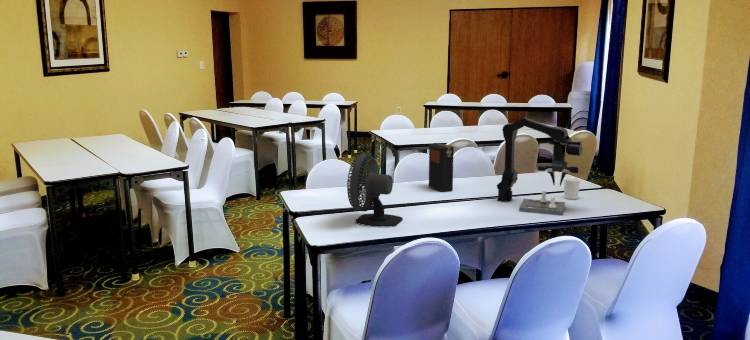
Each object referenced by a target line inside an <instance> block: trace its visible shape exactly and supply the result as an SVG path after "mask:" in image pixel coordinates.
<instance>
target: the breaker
mask: <svg viewBox="0 0 750 340" xmlns="http://www.w3.org/2000/svg"><path fill="white" fill-rule="evenodd" d="M550 201H551V204H549V208H556V205H555V201H556V196H551V197H550Z"/></svg>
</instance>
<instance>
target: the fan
mask: <svg viewBox="0 0 750 340" xmlns="http://www.w3.org/2000/svg"><path fill="white" fill-rule="evenodd" d="M379 168H380V167H379V165H378V162H377V160H376V159H375V158H374V157H373V156H372V155H370V154H359V155H358V156H356V157H355V158H354V159H353V160H352V162H351V164H350V166H349V169H348V170H349V171H348V174H347V181H346V182H347V184H346V185H347V186H346V187H347V198H348V202H349V204H350V206H351V207H352V208H353V209H354V210H355V211H357V212H367V211H369V210H370V209H372V208H373V213H364V214H361V215H360V216H359V217H358V218H356V219H355V220H354V222H355V221H356V222H357V223H356V222H355V223H356V224H358V223H360V224H359V225H361V224H364V225H363V226H367V225H370V226H369V227H375V226H392V227H396V226H398V225H399V224H400V223H401V222H402V221H403V220H404V219H403V217H402V216H399V215H394V214H388V213H385V205H384V204H383V203H382V201H381V199H380V196H381V195H386V196H387V195H390V194H391V193H392V191H393V188H394V187H393V185H394V181H393V176H391V175H390V174H384V173H383V174H381V173H380V169H379ZM398 223H399V224H398ZM397 224H398V225H397Z"/></svg>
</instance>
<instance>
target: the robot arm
mask: <svg viewBox="0 0 750 340" xmlns="http://www.w3.org/2000/svg"><path fill="white" fill-rule="evenodd" d="M524 127H526V128H528V129H531V130H534V131H537V132H539V133H543V134H545V135H547V136H548V137H550V138H551V139H552V140H551V141H550V142H549V145H551V146H552V145H553V146H552V147H553V150H552V161H551V165H548V163H544V162H543V163H538V166H537V171H539V172H545V171H546V170H547V172H546V173H547V174H549V175H550V178H551V181H552V184H553V186H555V185H556V182H555V181H556V177H555V172H557V173H558V172H559V173H561V174H560V175H561V176H560V182H559V187H561V186H562V183H563V180H564V179H565V178H566V175H569V172H570V173H572V174H578V173H579V169H580V167H579V165H572V164H570V166H568V161H566V154H567V155H568V156H577V157H581V156H582V154H583V149H584V148H583V144H582V141H573V140H572V139H571V137H570V136H569V133H568V130H567V129H566V128H565V127H560V126H555V125H554V126H552V125H548V124H546V123H542V122H540V121H537V120H534V119H530V118H529V117H522V118H520V119H519V120H517V121H515V122H510V123H506V124H504V125H503V126H502V135H503V139H504V142H505V143H504V144H505V145H504V147H505V149H504V170H503V172H502V175H501V181H500V182H498V183H497V185H496V188H497V191H498V192H497V201H498V202H499V201H500V202H511V201H512V200H513V189H512V188H513V187H514V185H516V183H517V181H518V180H519V177H518V174H519V173H518V171H516V170H515V143H516V142H515V141H516V138H517V136H518V131H519V130H520V129H523V128H524Z"/></svg>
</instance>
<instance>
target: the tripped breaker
mask: <svg viewBox="0 0 750 340" xmlns="http://www.w3.org/2000/svg"><path fill="white" fill-rule="evenodd" d="M546 196H547V191H545V190H542V192H541V198H540V199H539V200H540V202H547V201H548V199H547V198H546Z"/></svg>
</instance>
